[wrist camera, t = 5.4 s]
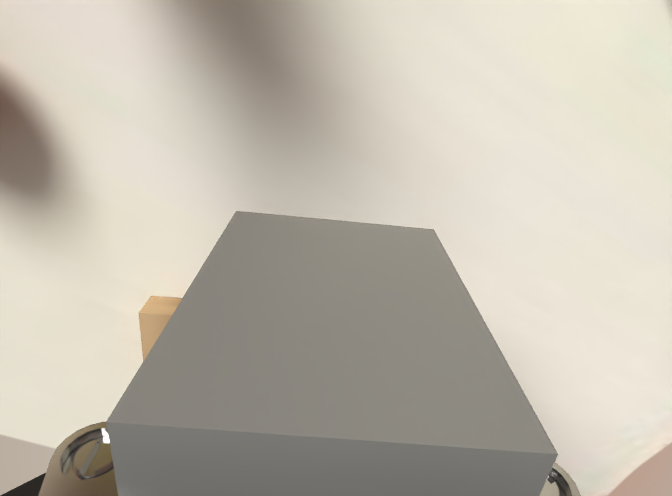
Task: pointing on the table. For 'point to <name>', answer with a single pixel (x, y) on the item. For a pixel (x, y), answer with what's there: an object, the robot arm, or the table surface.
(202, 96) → the table surface
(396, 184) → the table surface
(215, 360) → the block
